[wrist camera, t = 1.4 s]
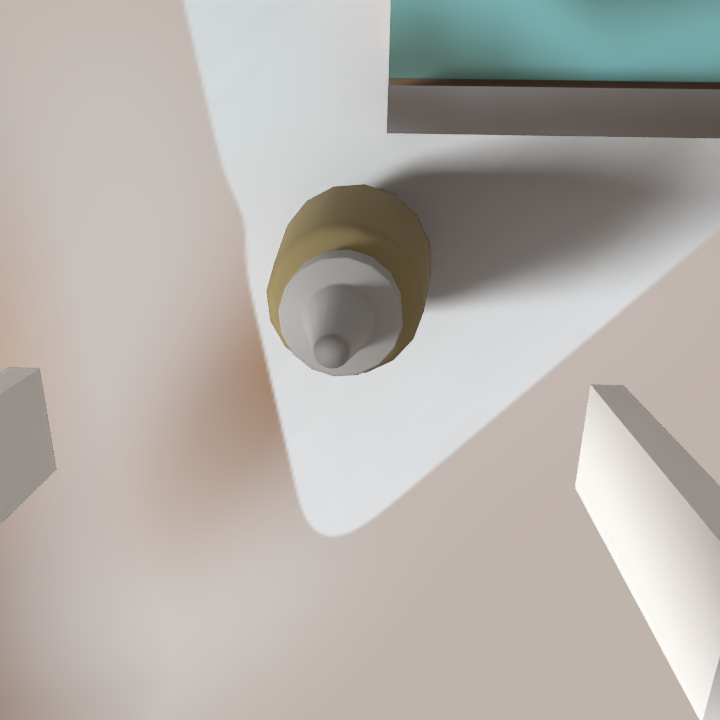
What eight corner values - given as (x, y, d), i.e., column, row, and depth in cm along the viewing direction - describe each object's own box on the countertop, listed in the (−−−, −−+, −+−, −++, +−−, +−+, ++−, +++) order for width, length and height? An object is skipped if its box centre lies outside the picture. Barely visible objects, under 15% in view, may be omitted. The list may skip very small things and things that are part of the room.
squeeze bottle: (438, 188, 35) (482, 239, 18) (416, 324, 38) (438, 478, 21) (295, 170, 35) (207, 204, 18) (285, 308, 38) (200, 448, 21)
